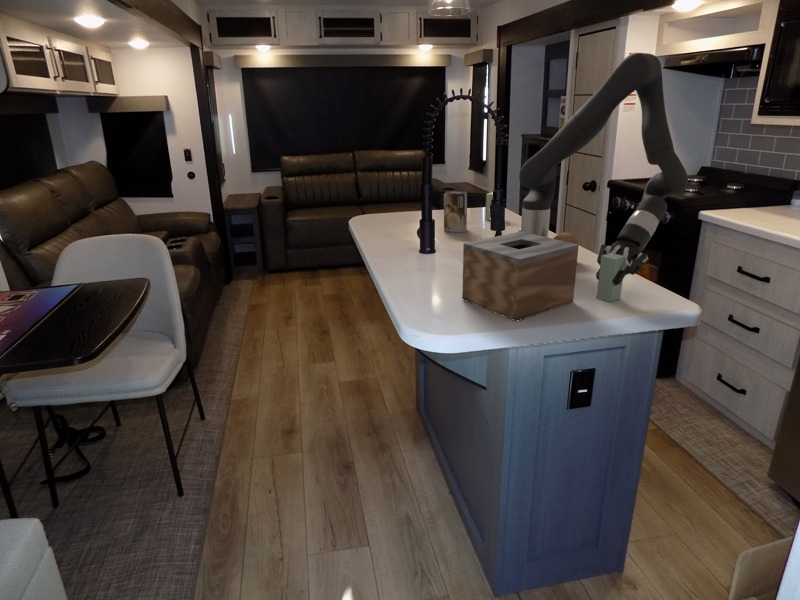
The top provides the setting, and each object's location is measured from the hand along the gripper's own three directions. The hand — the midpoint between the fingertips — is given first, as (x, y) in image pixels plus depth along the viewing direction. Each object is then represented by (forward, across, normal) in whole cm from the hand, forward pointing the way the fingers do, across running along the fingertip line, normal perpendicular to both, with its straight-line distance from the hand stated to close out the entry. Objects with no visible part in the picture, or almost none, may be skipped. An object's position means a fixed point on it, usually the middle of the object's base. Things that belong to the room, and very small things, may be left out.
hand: (606, 281), depth 145 cm
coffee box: (-14, -90, +22) cm, 94 cm away
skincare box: (-34, -96, +41) cm, 110 cm away
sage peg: (+2, 0, +5) cm, 6 cm away
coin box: (+17, -14, -10) cm, 24 cm away
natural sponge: (-12, -31, +19) cm, 38 cm away
